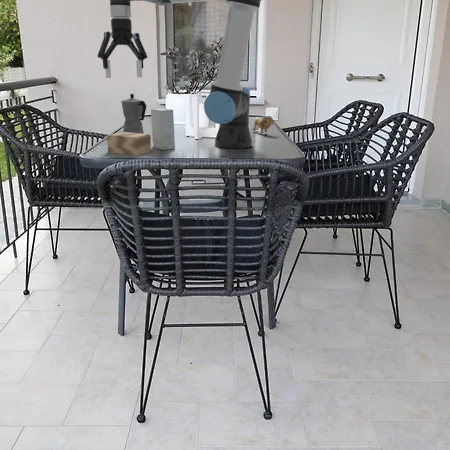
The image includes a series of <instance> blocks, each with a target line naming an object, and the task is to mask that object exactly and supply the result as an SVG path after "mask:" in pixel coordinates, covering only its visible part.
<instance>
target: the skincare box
mask: <svg viewBox="0 0 450 450" xmlns="http://www.w3.org/2000/svg"><path fill="white" fill-rule="evenodd" d="M150 114H151V115H150V116H151V117H150V118H151V132H152V147H153V148H155V149H158V150H162V151H164V150H175V148H176V143H175V142H176V141H175V121H174V119H175V118H174V109H170V108H164V107H163V108H152V109H150Z"/></svg>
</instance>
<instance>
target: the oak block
mask: <svg viewBox="0 0 450 450" xmlns="http://www.w3.org/2000/svg"><path fill="white" fill-rule="evenodd" d="M106 139H107V140H106V141H107V143H106V144H107V153H108V152H111V153H110V154H116V153H119V154H118V155H127V156H135V157H137V156H140V155H143V154H146V153H151V151H152V147H151V146H152V145H151V143H152V142H151V134H149V133H144V134H141V133H130V132H123V131H120V132H116V133H112V134H108V135H106Z"/></svg>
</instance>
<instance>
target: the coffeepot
mask: <svg viewBox="0 0 450 450" xmlns="http://www.w3.org/2000/svg"><path fill="white" fill-rule="evenodd" d="M129 95H130V98H126V99H122V100H121V101H120V102H121V108H122V113H123V117H124V122H123V124H124V125H123V130H122V132H130V133H141V134H145V133H144V128H143V123H142V121H144V120H145V116H146V115H145V114H146V111H147V104H146V102H145V101H144V100H140V99H136V98H135V94H134V93H130V94H129Z"/></svg>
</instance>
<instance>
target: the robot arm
mask: <svg viewBox="0 0 450 450" xmlns="http://www.w3.org/2000/svg"><path fill="white" fill-rule="evenodd" d="M135 1H136V2H139V1H140V2H141V1H143V2H148V3H151V4H156V5H159V6H168V5H170V4H171V5H172V4H180V3H181V4H182V3H183V4H185V3H198V2H211V1H212V2H215V1H216V2H217V1H218V0H109V8H110V18H111V20H110V25H111V27H110V28H111V32H110V31H104V33H103V39H102V42H101V45H100V47H99V51H98V53H97V58H98V59H101V60H102V68H103V69H105V78H106V79H112V73H111V71H112V70H111V60H110V59H109V57H110V56H111V55H112V53H113V52H114V50H115V49H116V47H117V46H127V47H128V48H129V49H130V51H131V52H132V54H134V56H135V57H136V58H137V59H136V60H135V63H136V65H135V66H136V78H143V69H144V60H145V59H148V55H147V52H146V50H145V48H144V45H143V44H142V41H141V38H140V37H141V36H140V33H138V32H134V33H132V28H133V27H132V20H131V18H132V10H131V9H132V8H131V2H135ZM261 2H262V0H225V3H226V4H227V6H228V14H227V19H226V25H225V31H224V37H223V43H222V47H221V54H220V59H219V63H218V64H219V65H218V71H217V76H216V79H215V80H214V81H212V83H211V86H210V91H209V94H208V95H207V96H206V98H205V99H204V102H203V103H204V104H203V109H204V113H205V116H206V117H207V118H208V119H209V121H211V122H213V123H214V124H218V125H219V127H218V130H217V133H216V136H215V139H214V146H215V147H219V148H224V149H247V147H249V148H251V147H250V146H252V147H253V139H252V135H251V132H250V131H251V130H250V128H249V124H250V123H249V122H250V104H251V103H250V101H251V100H250V99H251V91H250V88H248V87H246V86H245V87H244V86H242V85H241V80H242V75H243V70H244V64H245V59H246V54H247V49H248V44H249V39H250V34H251V30H252V23H253V20H254V14H255V12H257V11H258V10H259V9H260V6H261ZM111 38H112V39H113V40H112V41H111V42H110V40H111ZM132 39H133V40H132ZM133 41H134V42H133ZM109 42H110V44H109ZM108 45H109V46H108Z"/></svg>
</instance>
